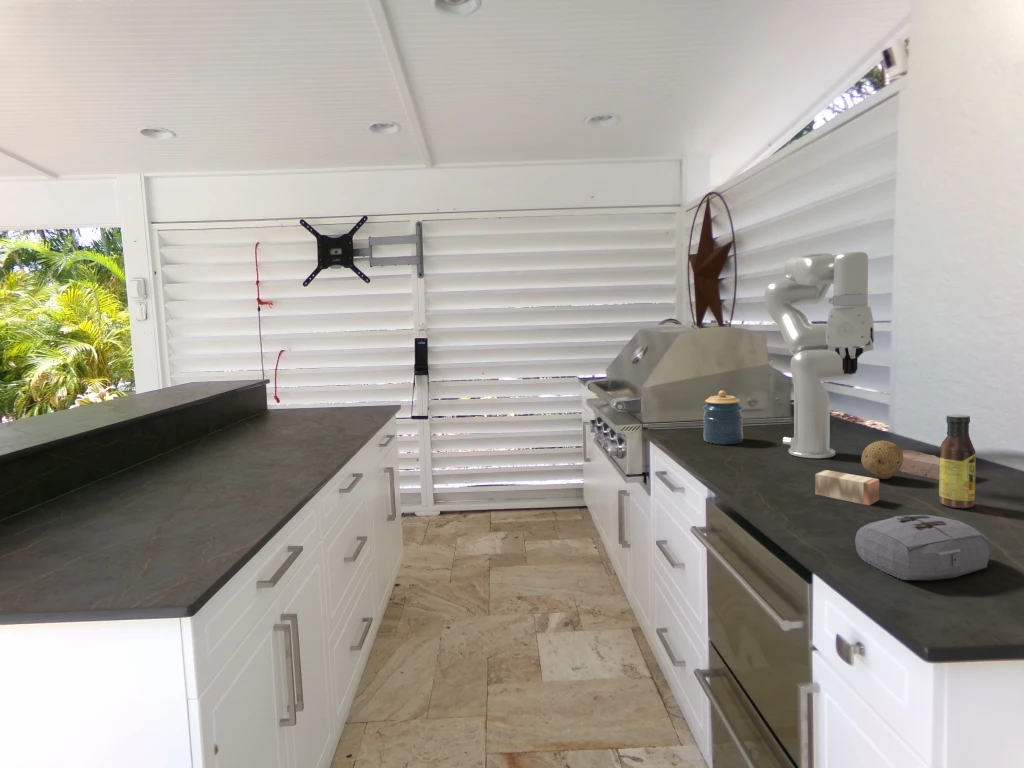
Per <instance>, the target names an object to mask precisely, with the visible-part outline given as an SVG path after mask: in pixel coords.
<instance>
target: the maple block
mask: <svg viewBox="0 0 1024 768" xmlns="http://www.w3.org/2000/svg"><path fill="white" fill-rule="evenodd" d="M814 476H815V477H814V479H815V481H814V483H815V486H814V489H815V490H814V494H815V495H818V496H822V497H827V498H832V499H837V500H842V501H847V502H850V503H851V502H853V503H856V504H860V505H866V506H870V505H873V504H874V503H876V502H878V501H880V478H874V477H869V476H863V475H859V474H858V475H856V474H853V473H852V474H851V473H845V472H840V471H835V470H828V469H823V470H822V471H820V472H819V471H818V472H817V473H815V474H814Z"/></svg>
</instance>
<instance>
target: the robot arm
mask: <svg viewBox="0 0 1024 768" xmlns="http://www.w3.org/2000/svg"><path fill="white" fill-rule="evenodd" d="M868 256H869V255H868V254H867V253H866V252H864V251H851V252H844V253H843V252H842V253H839V254H831V253H830V252H829V253H828V252H821V253H820V252H819V253H805V254H803V253H802V254H797V255H794V256H791V257H790V258H789V259H787V261H786V262H785V263H784V267H783V274H784V276H785V277H786V278H787V279H781V280H777V281H773V282H771V283H769V284H768V286H766V288H765V290H764V302H765V306H766V307H765V308H766V310H767V312H768V315H769V316H770V317H771V319H772V320H773V322H774V323H776V325H777V326H778V329H779V331H780V333H781V335H782V337H783V341H784V343H785V345H786V347H787V350H788V351H789V353H791V354H792V355H793V356H792V357H791V359H790V372H791V376H792V377H791V378H792V383H793V411H794V413H793V420H794V421H793V425H794V426H793V430H794V431H793V437H789V436H784V437H783V438H782V444H784V445H789V446H790V447H789V448H788V453H789V454H790V455H792V456H795V457H799V458H805V459H827V458H828V459H829V458H831V457H834V456H835V455H836V450H835V449H833V448H830V422H831V421H830V419H831V418H830V408H831V407H830V406H831V405H830V401H831V400H830V394H829V392H828V391H827V390H826V389H825V388H824V386H823V385H822V382H838V381H848V380H850V379H852V378H854V376H855V375H856V373H857V371H858V361H859V359H858V358H860V356H862V354H863V353H865V352H870V351H873V350H874V349H875V348H874V344H873V343H874V341H875V327H874V317H873V312H872V308H871V306H869V304H868V303H869V302H868V301H869V300H868V299H869V297H868V294H869V293H868V292H869V257H868ZM831 285H833V296H832V297H831V298H829V299H828V304H829V305H832V306H833V307H830V309H829V313H828V316H827V322H826V324H811V323H810V321H809V319H808V317H807V316H806V315H805V313H804V312H803V311H801V310H799V308H796V307H795V306H805V305H808V306H809V305H816V304H819V303H821V302H822V301H823V300H824V298H825V297H826V295H827V293H828V291H829V289H830V288H831Z"/></svg>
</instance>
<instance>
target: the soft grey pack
mask: <svg viewBox="0 0 1024 768" xmlns="http://www.w3.org/2000/svg"><path fill="white" fill-rule="evenodd" d="M854 544H855V551H856V552H857V554H858V556H859V558H860V559H861V560H862V561H864V563H866V562H867V563H868V564H871V565H872V566H874V567H876V568H878V569H880V570H881V571H884V572H886V573H887V574H886V573H885V574H886V575H888V574H890V575H892V576H894V577H897V578H896V579H899V578H900V579H899V580H903V581H936V580H943V579H946V580H947V579H952V578H957V577H960V576H964V575H968V574H972V573H975V572H977V571H980V570H983V569H986V568H988V564H989V561H990V559H991V557H992V554H993V549H992V546H991V543H990V542H989V539H988V538H987V537H986V535H985V534H984V533H982V532H981V531H979V530H977V528H975V527H974V526H973V527H972V526H971V525H968V524H966V523H964V522H963V521H960V520H956V519H952V518H947V517H943V516H938V515H937V516H936V515H931V514H907V515H895V516H893V517H889V518H886V519H885V518H884V519H882V520H877V521H874V522H869V523H868V524H864V525H863V526H861V527H859V528H858V531H857V532H856V535H855V539H854ZM867 563H866V564H867ZM868 564H867V565H868ZM872 566H871V567H872ZM874 567H873V568H874ZM876 568H875V569H876ZM881 571H880V572H881ZM890 575H889V576H890ZM892 576H891V577H892ZM894 577H893V578H894Z"/></svg>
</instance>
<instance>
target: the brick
mask: <svg viewBox="0 0 1024 768" xmlns="http://www.w3.org/2000/svg"><path fill="white" fill-rule="evenodd" d="M901 451H902V453H903V463H902V465H901V467H900V469H899V470H898V472H902V473H906V474H910V475H914V476H919V477H920V476H921V477H925V478H930V479H934V480H938V481H939V473H940V457H939V456H936V455H934V454H933V455H932V454H928V453H924V452H920V451H917V450H913V449H912V450H911V449H901Z"/></svg>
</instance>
